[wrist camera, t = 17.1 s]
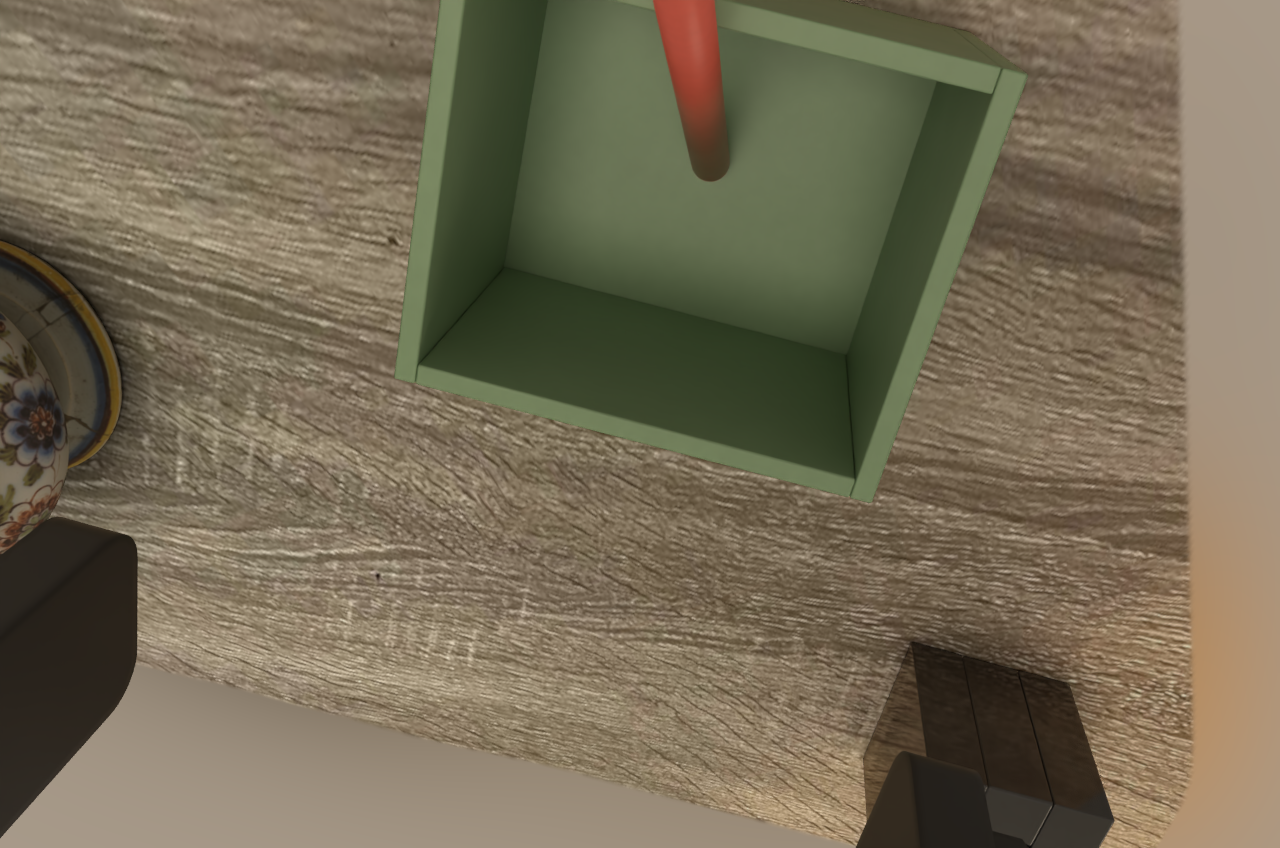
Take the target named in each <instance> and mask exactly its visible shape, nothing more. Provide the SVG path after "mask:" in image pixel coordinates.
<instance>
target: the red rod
mask: <svg viewBox="0 0 1280 848" xmlns="http://www.w3.org/2000/svg"><path fill="white" fill-rule="evenodd" d="M653 4H654V8H655V12H656V16H657V21H658V25H659V29H660V33H661V38H662V42H663V46H664V50H665V55H666V59H667V63H668V67H669V72H670V76H671V80H672V85H673V89H674V93H675V97H676V102H677V106H678V110H679V114H680V119H681V123H682V127H683V131H684V136H685V140H686V144H687V148H688V153H689V157H690V161H691V165H692V169H693V171H694V173H695V174H696V176H697V177H698V178H700V179H701V180H704V181H707V182H713V181H717V180H719V179H721V178H722V177H723V176H724V175H725V174H726V173H727V171H728V169H729V165H730V158H729V147H728V137H727V126H726V116H725V105H724V95H723V84H722V74H721V63H720V53H719V42H718V32H717V21H716V11H715V1H714V0H653Z"/></svg>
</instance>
